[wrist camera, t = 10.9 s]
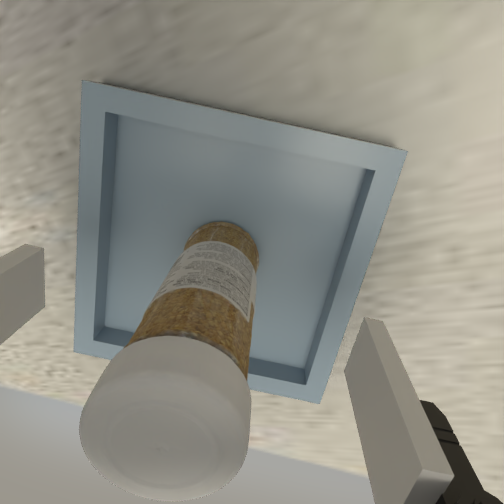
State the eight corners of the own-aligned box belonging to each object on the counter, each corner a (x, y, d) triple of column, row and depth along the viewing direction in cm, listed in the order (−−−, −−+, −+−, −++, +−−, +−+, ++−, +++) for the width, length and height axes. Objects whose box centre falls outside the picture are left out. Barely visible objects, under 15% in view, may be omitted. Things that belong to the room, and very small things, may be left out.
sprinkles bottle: (228, 302, 23) (180, 532, 11) (169, 259, 22) (41, 455, 10) (276, 250, 22) (285, 446, 9) (214, 202, 21) (133, 346, 8)
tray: (102, 83, 20) (81, 80, 18) (394, 147, 20) (408, 151, 18) (90, 332, 25) (73, 352, 23) (316, 380, 26) (319, 403, 24)
